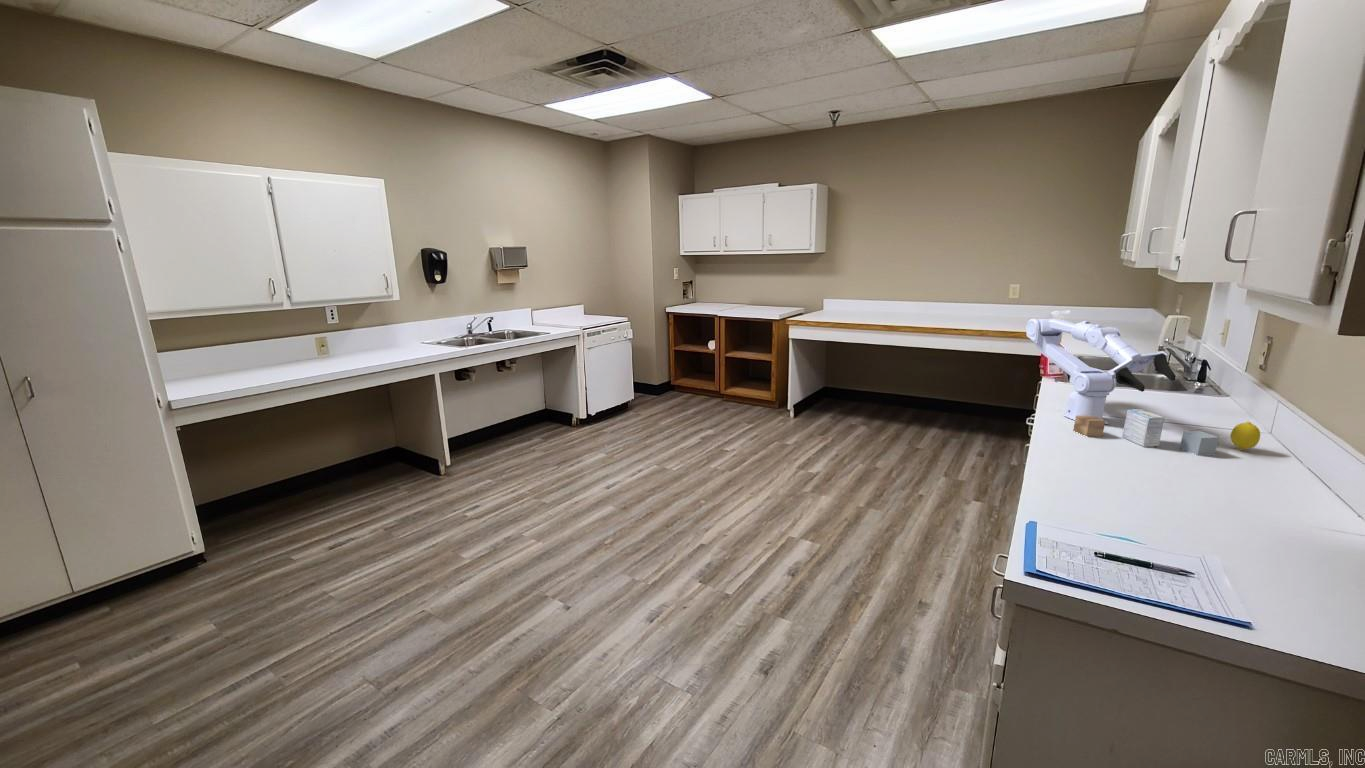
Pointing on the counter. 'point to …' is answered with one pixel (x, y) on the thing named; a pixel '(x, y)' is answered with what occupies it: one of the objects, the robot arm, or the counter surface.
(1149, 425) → the medicine box
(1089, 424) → the walnut block
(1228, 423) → the counter surface
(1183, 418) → the counter surface
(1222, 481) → the counter surface
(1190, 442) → the slate block
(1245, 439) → the lemon
